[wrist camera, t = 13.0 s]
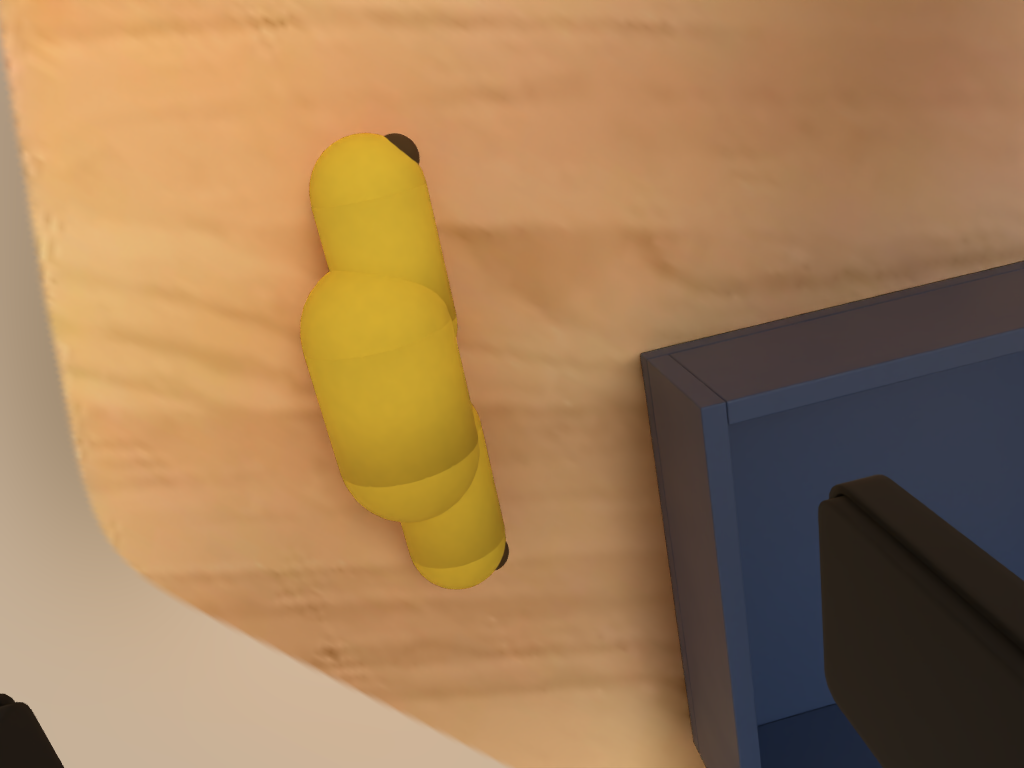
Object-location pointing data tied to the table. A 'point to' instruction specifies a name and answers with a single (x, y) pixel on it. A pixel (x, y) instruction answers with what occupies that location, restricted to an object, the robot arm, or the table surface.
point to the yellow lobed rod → (397, 362)
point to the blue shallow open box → (822, 486)
